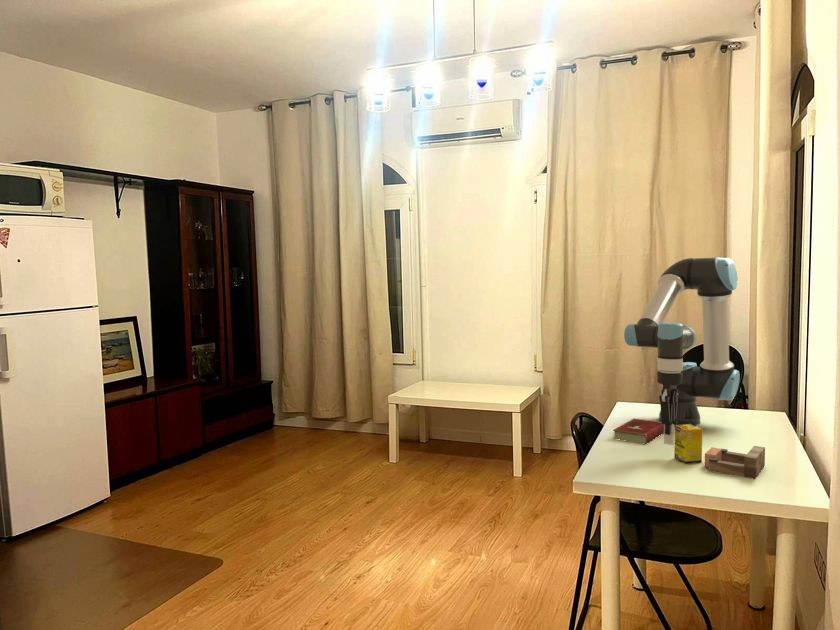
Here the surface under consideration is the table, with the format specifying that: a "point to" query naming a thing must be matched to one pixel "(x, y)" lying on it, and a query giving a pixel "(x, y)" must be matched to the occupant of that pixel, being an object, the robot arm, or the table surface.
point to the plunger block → (713, 455)
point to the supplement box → (688, 444)
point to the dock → (740, 463)
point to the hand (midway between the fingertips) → (668, 443)
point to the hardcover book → (639, 431)
